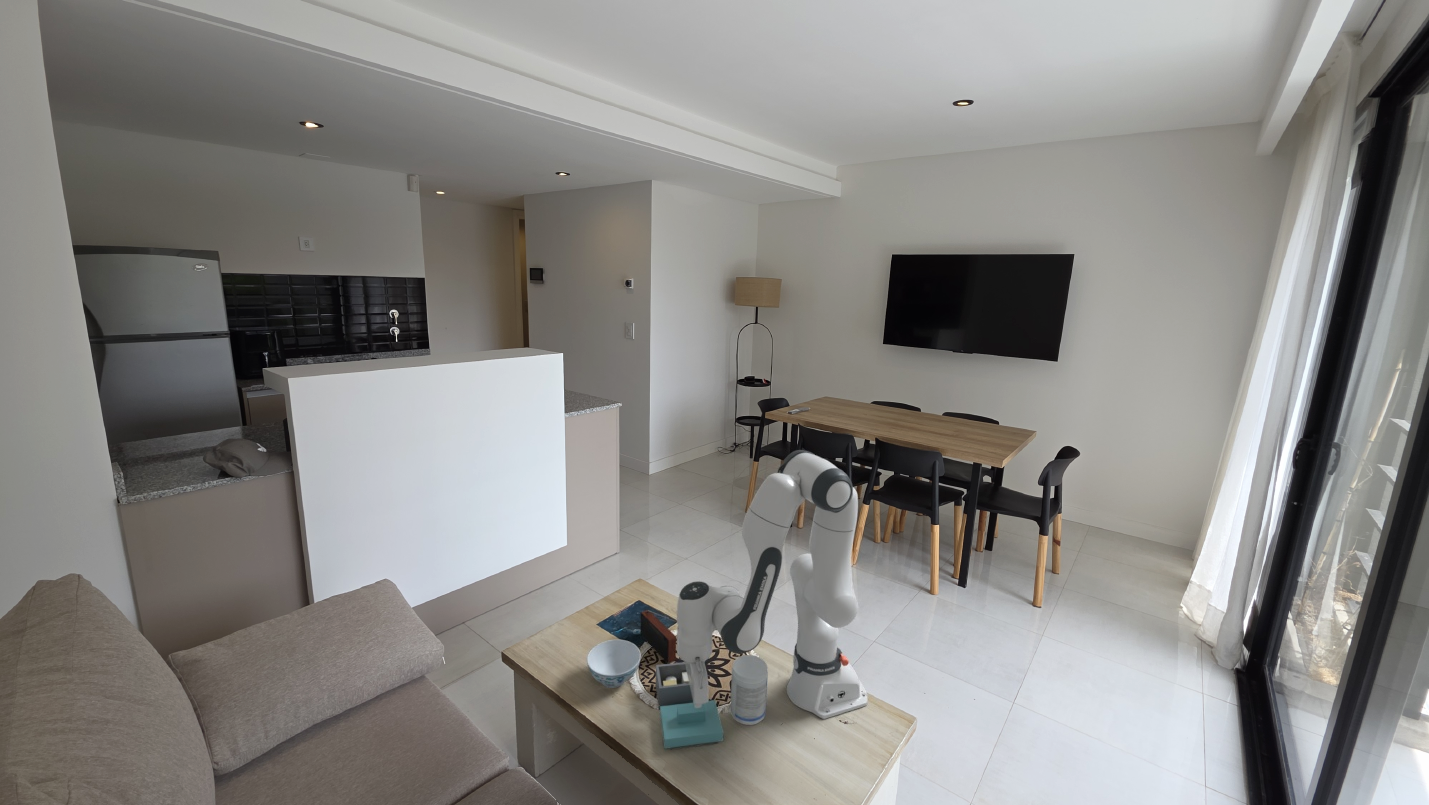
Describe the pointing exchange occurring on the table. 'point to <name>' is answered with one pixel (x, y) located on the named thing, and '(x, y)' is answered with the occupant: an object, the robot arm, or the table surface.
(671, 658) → the radio
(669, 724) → the lid
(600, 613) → the table surface
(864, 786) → the table surface
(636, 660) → the chinaware
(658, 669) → the storage box
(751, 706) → the supplement tub
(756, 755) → the table surface
